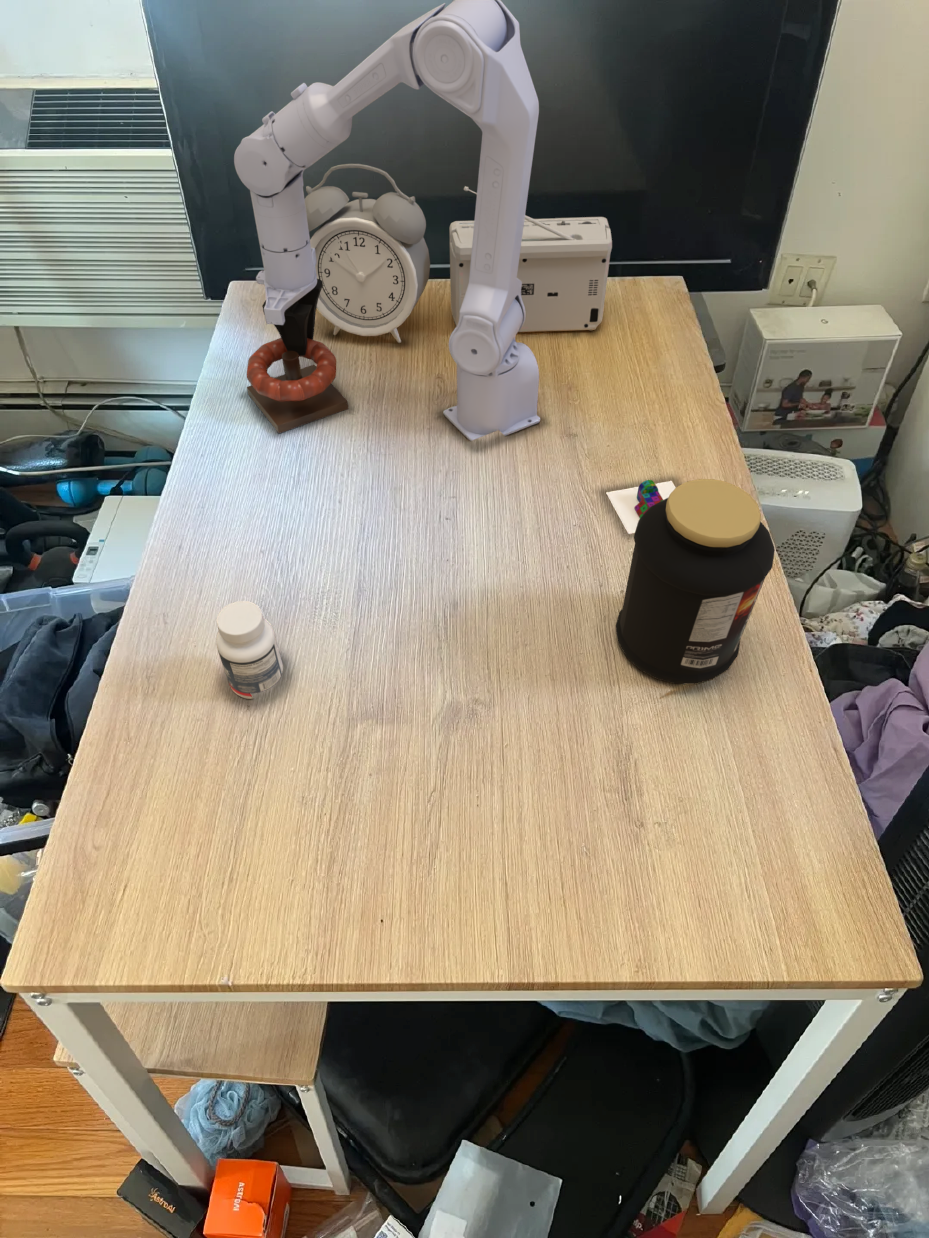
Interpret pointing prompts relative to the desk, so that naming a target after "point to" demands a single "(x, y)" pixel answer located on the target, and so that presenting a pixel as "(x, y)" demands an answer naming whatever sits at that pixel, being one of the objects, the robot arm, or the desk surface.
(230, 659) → the pill bottle
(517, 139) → the robot arm
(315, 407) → the ring toss peg
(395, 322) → the alarm clock
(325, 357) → the loop ring
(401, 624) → the desk surface
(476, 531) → the desk surface
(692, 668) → the container
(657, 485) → the white flat piece
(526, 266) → the radio
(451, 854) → the desk surface
